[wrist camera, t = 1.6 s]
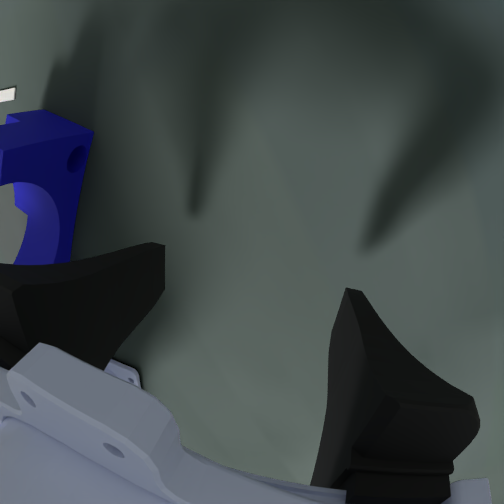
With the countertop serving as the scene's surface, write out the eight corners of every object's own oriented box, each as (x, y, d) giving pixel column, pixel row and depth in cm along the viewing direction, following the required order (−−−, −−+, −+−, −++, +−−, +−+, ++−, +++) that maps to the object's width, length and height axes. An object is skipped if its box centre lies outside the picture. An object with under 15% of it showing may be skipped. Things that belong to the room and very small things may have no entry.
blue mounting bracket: (46, 109, 14) (-38, 123, 9) (96, 131, 14) (3, 150, 9) (28, 269, 20) (-29, 307, 14) (68, 300, 20) (11, 348, 14)
